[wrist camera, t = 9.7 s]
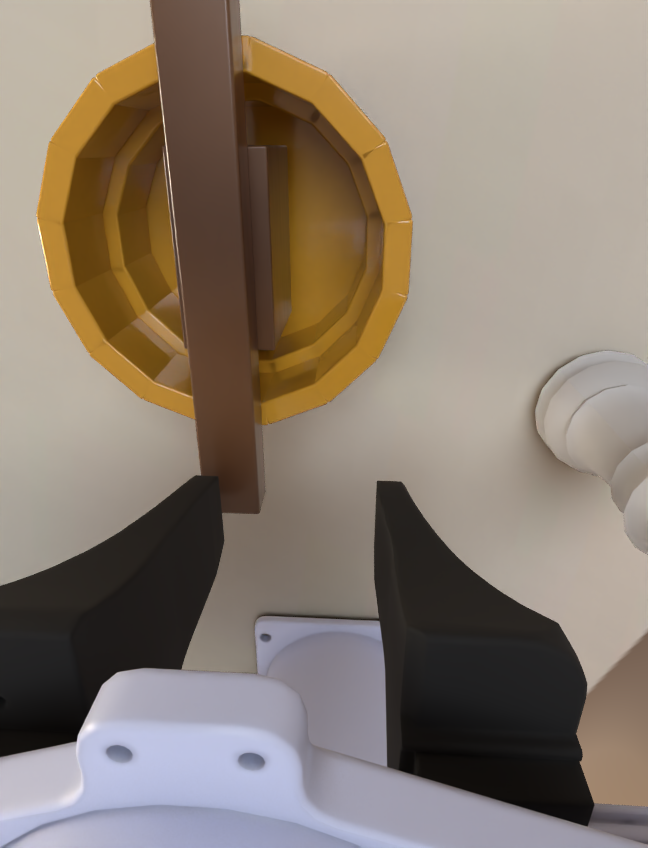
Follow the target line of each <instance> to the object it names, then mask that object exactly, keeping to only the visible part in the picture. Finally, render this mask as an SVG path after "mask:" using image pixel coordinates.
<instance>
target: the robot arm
mask: <svg viewBox="0 0 648 848" xmlns="http://www.w3.org/2000/svg"><path fill="white" fill-rule="evenodd" d="M223 545H224V531H223V520H222V509H221V498H220V488H219V477H218V476H197V475H195V476H194V477H193V478H191V479H190V480H189V481H187V482H186V483H185V484H183V485H182V486H181V487H180V488H178V489H177V490H176V491H175V492H174V493H172V494H171V495H170V496H169V497H167V498H166V499H165V500H163V501H162V502H161V503H160V504H158V505H157V506H156V507H154V508H153V509H152V510H150V511H149V512H148V513H146V514H145V515H143V516H142V517H141V518H139V519H138V520H136V521H135V522H133V523H132V524H131V525H129V526H128V527H126V528H125V529H123V530H122V531H120V532H119V533H117V534H116V535H114V536H112V537H111V538H109V539H107V540H106V541H104V542H102V543H100V544H98V545H97V546H95V547H93V548H91V549H89V550H88V551H86V552H84V553H82V554H79V555H77V556H75V557H73V558H71V559H69V560H67V561H64V562H62V563H60V564H58V565H56V566H54V567H51V568H49V569H46V570H44V571H41V572H39V573H36V574H34V575H31V576H28V577H26V578H23V579H20V580H17V581H14V582H11V583H8V584H5V585H2V586H0V848H648V807H645V806H629V805H612V804H595V803H594V802H593V799H592V796H591V793H590V791H589V788H588V785H587V782H586V779H585V776H584V773H583V771H582V768H581V765H580V762H579V761H581V760H582V757H583V756H582V749H581V746H580V744H579V741H578V738H577V735H576V732H577V729H578V725H579V721H580V717H581V714H582V711H583V707H584V703H585V700H586V693H587V681H586V678H585V675H584V672H583V669H582V666H581V664H580V662H579V659H578V657H577V655H576V653H575V651H574V649H573V648H572V646H571V644H570V642H569V641H568V639H567V637H566V636H565V634H564V632H563V631H562V629H561V627H560V626H559V624H558V623H557V622H555V621H553V620H551V619H549V618H547V617H545V616H543V615H541V614H539V613H537V612H535V611H533V610H531V609H529V608H527V607H525V606H523V605H521V604H520V603H518V602H516V601H515V600H513V599H512V598H510V597H508V596H507V595H505V594H503V593H502V592H500V591H499V590H498V589H496V588H495V587H493V586H492V585H490V584H489V583H488V582H486V581H485V580H484V579H482V578H481V577H480V576H478V575H477V574H476V573H475V572H473V571H472V570H471V569H470V568H469V567H467V566H466V565H465V564H464V563H463V562H462V561H461V560H460V559H459V558H458V557H457V556H456V555H455V554H454V553H453V552H452V551H451V550H450V549H449V548H448V547H447V546H446V544H445V543H444V542H443V541H442V540H441V539H440V538H439V536H438V535H437V534H436V533H435V531H434V530H433V529H432V528H431V526H430V525H429V523H428V522H427V521H426V519H425V518H424V517H423V515H422V514H421V512H420V511H419V509H418V508H417V506H416V505H415V503H414V502H413V500H412V498H411V497H410V495H409V493H408V491H407V489H406V487H405V485H404V484H403V483H402V482H395V481H377V492H376V515H375V538H374V580H375V589H376V597H377V605H378V613H379V620H380V621H370V620H348V619H325V618H302V617H279V616H261V617H259V618H258V619H257V620H256V624H255V642H256V656H257V670H258V674H256V673H236V672H215V671H195V670H181V669H182V665H183V662H184V658H185V655H186V652H187V649H188V647H189V644H190V641H191V638H192V636H193V633H194V631H195V628H196V626H197V623H198V621H199V618H200V616H201V613H202V610H203V608H204V605H205V603H206V600H207V598H208V595H209V593H210V590H211V587H212V585H213V582H214V579H215V577H216V574H217V570H218V566H219V562H220V558H221V554H222V549H223ZM264 634H269V635H268V636H267V635H264Z"/></svg>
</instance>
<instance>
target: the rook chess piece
mask: <svg viewBox="0 0 648 848" xmlns="http://www.w3.org/2000/svg"><path fill="white" fill-rule="evenodd" d="M535 415H536V424H537V432H538V433H539V435H540V436H541V438H542V439H543V441H544V442H545V444H546V445H547V446H548V448H549V449H551V450H552V451H553V453H554V454H555V456H556V457H557V459H559V460H561V461H562V462H564V463H566V464H567V465H569V466H571V467H573V468H574V469H576V470H578V471H579V472H582V473H589V474H591V475H595V476H600V477H601V478H602V479H603V480H604V481H605V482H606V483H607V484H608V485H610V486H611V495H612V499H613V501H614V502H615V504H616V505H617V507H618V509H619V510H620V511H621V512H623V513H624V530H625V533H626V534H627V536H628V537H629V539H630V541H631V542H632V544H633V545H634V547H635V548H637V549H639V550H640V551H642V552H644V553H646V554H647V555H648V364H647V363H645V362H644V361H642V360H641V359H639V358H638V357H636V356H634V355H633V354H630V353H623V352H616V351H609V350H605V351H601V352H596V353H592V354H587V355H582V356H580V357H578V358H576V359H575V360H573V361H571V362H570V363H568V364H567V365H565V366H563V367H562V368H560V369H558V370H557V372H556V373H555V374H554V375H553V376H552V378H551V379H550V380H549V381H548V382H547V384H546V385H545V386H544V387H543V388H542V391H541V394H540V397H539V400H538V403H537V406H536V409H535Z"/></svg>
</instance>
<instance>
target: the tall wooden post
mask: <svg viewBox="0 0 648 848" xmlns="http://www.w3.org/2000/svg"><path fill="white" fill-rule="evenodd" d="M150 7H151V16H152V25H153V35H154V44H155V53H156V62H157V72H158V81H159V90H160V99H161V109H162V118H163V127H164V136H165V145H164V146H163V147H162V150H163V159H164V168H165V177H166V186H167V195H168V204H169V213H170V222H171V232H172V241H173V250H174V259H175V268H176V277H177V286H178V295H179V304H180V313H181V322H182V331H183V340H184V347H185V349H188V358H189V367H190V377H191V386H192V395H193V404H194V414H195V423H196V432H197V441H198V451H199V460H200V469H201V476H218V477H219V488H220V498H221V509H222V513H243V514H259V513H260V510H261V506H262V503H263V499H264V496H265V492H266V490H265V471H264V452H263V434H262V415H261V396H260V378H259V359H258V350H275V348H276V346H277V344H278V341H279V339H280V337H281V335H282V332H283V330H284V328H285V325H286V323H287V321H288V318H289V316H290V314H291V273H290V235H289V197H288V160H287V146H286V145H247V134H246V115H245V96H244V78H243V59H242V40H241V22H240V3H239V0H150Z"/></svg>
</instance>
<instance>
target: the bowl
mask: <svg viewBox="0 0 648 848" xmlns="http://www.w3.org/2000/svg"><path fill="white" fill-rule="evenodd" d="M241 40H242V59H243V78H244V96H245V115H246V134H247V145H286V146H287V160H288V197H289V235H290V273H291V314H290V316H289V318H288V321H287V323H286V325H285V328H284V330H283V332H282V335H281V337H280V339H279V341H278V344H277V346H276V348H275V350H258V359H259V378H260V396H261V415H262V425H268V423H269V424H272V423H275V422H277V421H280V420H283V419H286V418H289V417H291V416H294V415H297V414H300V413H303V412H305V411H308V410H311V409H314V408H317V407H319V406H322V405H325V404H327V403H328V402H331V401H332V400H333V399H334V398H335V397H336V396H337V395H339V394H340V393H341V392H342V391H343V390H344V389H345V388H346V387H347V386H349V385H350V384H351V383H352V382H353V381H354V380H355V379H356V378H358V377H359V376H360V375H361V374H362V373H363V372H364V371H365V370H366V369H368V368H369V367H370V366H371V365H372V364H373V363H374V362H375V361H376V359H378V358H379V356H380V354H381V352H382V350H383V348H384V346H385V344H386V342H387V339H388V337H389V335H390V333H391V331H392V329H393V327H394V325H395V323H396V321H397V319H398V317H399V315H400V313H401V310H402V308H403V306H404V304H405V302H406V300H407V295H408V293H409V278H410V262H411V245H412V229H413V221H412V214H411V211H410V208H409V205H408V202H407V199H406V196H405V193H404V190H403V187H402V184H401V181H400V178H399V175H398V172H397V169H396V166H395V163H394V160H393V157H392V154H391V151H390V148H389V145H388V143H387V141H385V140H386V139H385V137H384V136H383V135H382V133H381V132H380V131H379V130H378V129H377V128H376V126H375V125H374V124H373V123H372V122H371V121H370V119H369V118H368V117H367V116H366V115H365V114H364V113H363V111H362V110H361V109H360V108H359V107H358V106H357V104H356V103H355V102H354V101H353V100H352V99H351V97H350V96H349V95H348V94H347V93H346V92H345V91H344V89H343V88H342V87H341V86H340V85H339V84H338V82H337V81H336V80H335V79H334V78H333V77H332V75H330V74H328V73H327V72H326V71H324V70H322V69H320V68H318V67H316V66H314V65H312V64H309V63H307V62H305V61H303V60H301V59H299V58H297V57H295V56H293V55H290V54H288V53H286V52H284V51H282V50H280V49H278V48H276V47H274V46H271V45H269V44H267V43H265V42H263V41H261V40H259V39H257V38H255V37H249V36H247V35H241ZM164 145H165V136H164V127H163V118H162V109H161V99H160V90H159V81H158V72H157V62H156V53H155V44H154V43H153V44H151V45H149V46H147V47H145V48H144V49H142V50H140V51H138V52H136V53H134V54H133V55H131V56H129V57H127V58H125V59H123V60H122V61H120V62H118V63H116V64H114V65H112V66H110V67H109V68H107V69H105V70H103V71H101V72H99V73H98V74H97V75H96V77H94V78H92V80H91V81H90V83H89V84H88V85H87V87H86V88H85V90H84V91H83V93H82V94H81V96H80V97H79V99H78V100H77V102H76V103H75V104H74V106H73V107H72V109H71V110H70V112H69V113H68V115H67V116H66V118H65V119H64V120H63V122H62V123H61V125H60V126H59V128H58V129H57V131H56V132H55V134H54V135H53V136H52V138H51V141H50V142H49V145H48V150H47V156H46V162H45V167H44V173H43V179H42V184H41V190H40V196H39V202H38V207H37V213H36V217H37V224H38V228H39V233H40V238H41V243H42V248H43V253H44V258H45V263H46V267H47V272H48V277H49V282H50V287H51V290H52V291H53V295H54V297H55V298H56V300H57V302H58V303H59V305H60V307H61V308H62V310H63V312H64V313H65V315H66V317H67V318H68V320H69V322H70V323H71V325H72V327H73V328H74V330H75V331H76V333H77V335H78V336H79V338H80V340H81V341H82V343H83V345H84V346H85V348H86V350H87V351H88V352H89V353H90V356H91V357H92V358H94V359H95V360H96V361H97V362H98V363H99V364H101V365H102V366H103V367H104V368H105V369H107V370H108V371H109V372H110V373H111V374H113V375H114V376H115V377H116V378H117V379H118V380H120V381H121V382H122V383H123V384H124V385H126V386H127V387H128V388H129V389H130V390H131V391H133V392H134V393H135V394H136V395H137V396H139V397H140V398H141V399H143V398H144V400H146V401H148V402H151V403H154V404H156V405H159V406H161V407H164V408H166V409H169V410H172V411H174V412H177V413H179V414H182V415H184V416H187V417H190V418H192V419H195V414H194V404H193V395H192V386H191V377H190V367H189V358H188V349H185V347H184V340H183V331H182V322H181V313H180V304H179V295H178V286H177V277H176V268H175V259H174V250H173V241H172V232H171V222H170V213H169V204H168V195H167V186H166V177H165V168H164V159H163V150H162V147H163V146H164Z"/></svg>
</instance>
